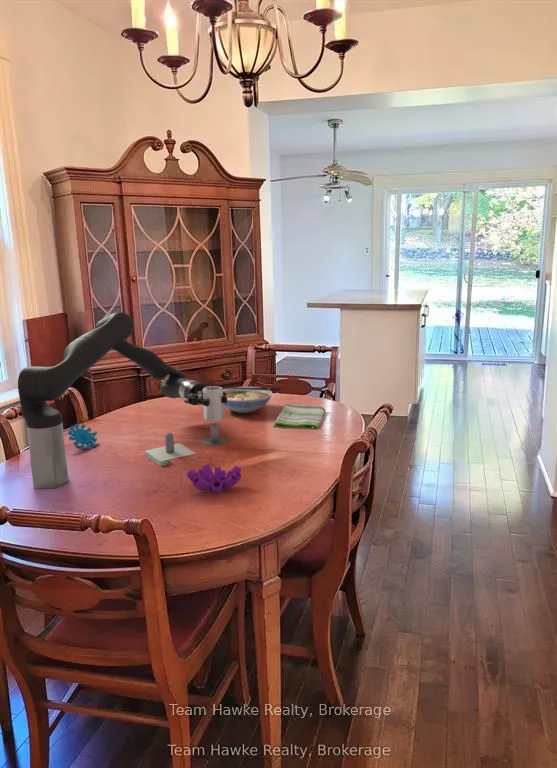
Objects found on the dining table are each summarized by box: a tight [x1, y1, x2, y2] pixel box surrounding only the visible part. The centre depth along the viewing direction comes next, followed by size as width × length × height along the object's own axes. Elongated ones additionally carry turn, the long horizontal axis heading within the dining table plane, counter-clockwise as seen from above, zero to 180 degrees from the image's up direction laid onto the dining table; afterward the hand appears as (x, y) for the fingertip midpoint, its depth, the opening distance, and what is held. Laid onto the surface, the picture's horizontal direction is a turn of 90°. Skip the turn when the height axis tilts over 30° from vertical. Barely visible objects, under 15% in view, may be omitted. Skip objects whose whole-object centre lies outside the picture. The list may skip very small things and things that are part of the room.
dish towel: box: [273, 403, 326, 429], centre depth 221 cm, size 17×23×4 cm
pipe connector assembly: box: [186, 463, 243, 494], centre depth 156 cm, size 11×15×10 cm
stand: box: [200, 422, 229, 447], centre depth 192 cm, size 9×9×8 cm
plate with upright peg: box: [144, 432, 197, 467], centre depth 183 cm, size 12×12×8 cm
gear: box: [67, 423, 98, 450], centre depth 194 cm, size 11×6×10 cm
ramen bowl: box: [222, 386, 280, 414], centre depth 233 cm, size 25×23×8 cm
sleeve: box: [202, 385, 224, 422], centre depth 189 cm, size 6×6×10 cm
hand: (216, 401), depth 187 cm, fingers closed on sleeve, 6 cm apart
